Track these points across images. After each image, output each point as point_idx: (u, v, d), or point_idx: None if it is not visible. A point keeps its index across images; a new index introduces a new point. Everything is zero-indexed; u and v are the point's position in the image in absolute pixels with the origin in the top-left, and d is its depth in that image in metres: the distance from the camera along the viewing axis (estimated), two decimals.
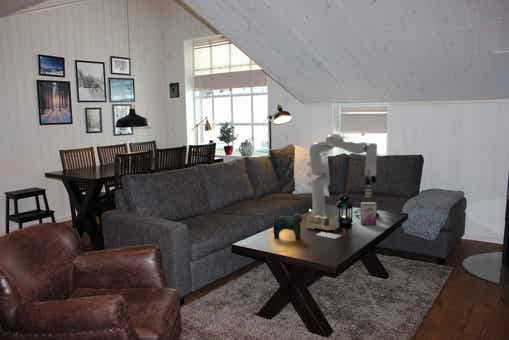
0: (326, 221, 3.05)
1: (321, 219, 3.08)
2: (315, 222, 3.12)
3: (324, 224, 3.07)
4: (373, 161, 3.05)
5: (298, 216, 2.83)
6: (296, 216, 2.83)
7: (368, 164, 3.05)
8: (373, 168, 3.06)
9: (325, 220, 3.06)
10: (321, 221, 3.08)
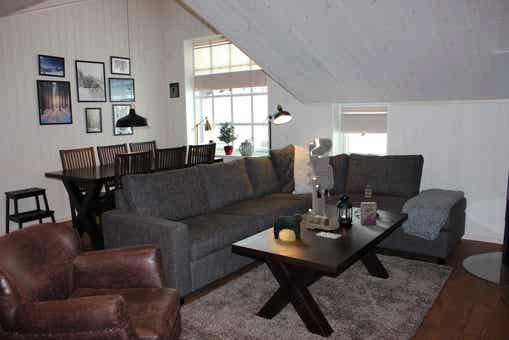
0: (326, 221, 3.05)
1: (321, 219, 3.08)
2: (315, 222, 3.12)
3: (324, 224, 3.07)
4: (324, 174, 3.01)
5: (298, 216, 2.83)
6: (296, 216, 2.83)
7: (319, 177, 3.02)
8: (324, 181, 3.03)
9: (325, 220, 3.06)
10: (321, 221, 3.08)
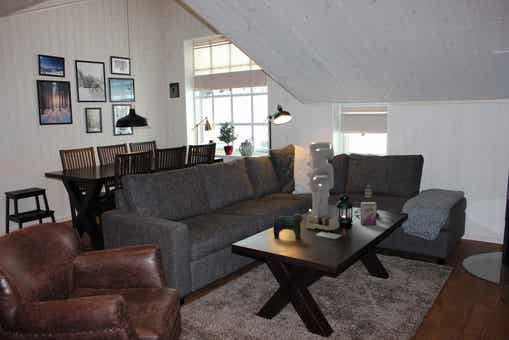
0: (326, 221, 3.05)
1: None
2: (315, 222, 3.12)
3: (324, 224, 3.07)
4: (324, 202, 3.04)
5: (298, 216, 2.83)
6: (296, 216, 2.83)
7: (319, 205, 3.05)
8: (324, 209, 3.06)
9: (325, 220, 3.06)
10: None
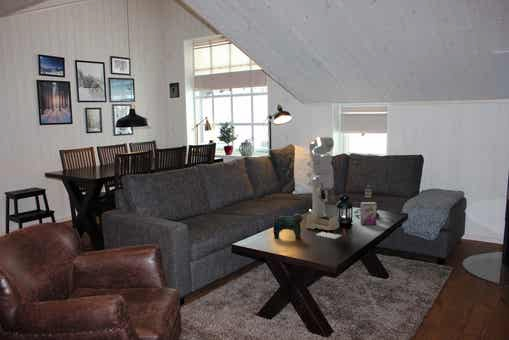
0: (329, 193, 2.93)
1: None
2: (317, 195, 2.99)
3: (327, 196, 2.94)
4: (327, 173, 2.92)
5: (298, 216, 2.83)
6: (296, 216, 2.83)
7: (321, 176, 2.93)
8: (327, 181, 2.94)
9: (328, 192, 2.93)
10: None
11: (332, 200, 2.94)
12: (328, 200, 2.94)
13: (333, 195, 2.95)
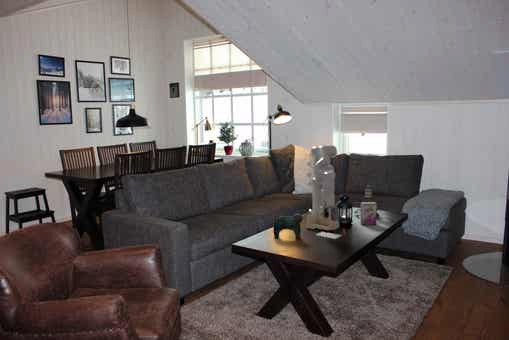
0: (332, 211, 2.84)
1: None
2: (320, 213, 2.91)
3: (330, 215, 2.86)
4: (330, 191, 2.84)
5: (298, 216, 2.83)
6: (296, 216, 2.83)
7: (325, 194, 2.84)
8: (330, 199, 2.85)
9: (331, 210, 2.85)
10: None
11: (336, 219, 2.86)
12: (331, 218, 2.86)
13: (337, 213, 2.86)
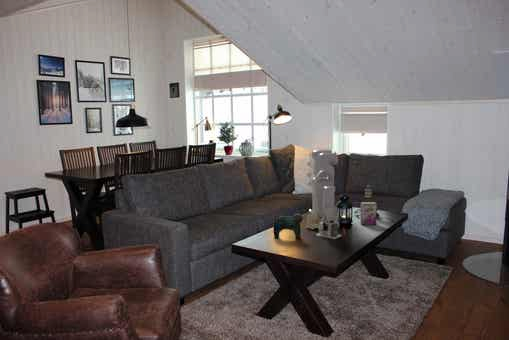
0: (332, 228, 2.86)
1: None
2: (320, 229, 2.93)
3: (330, 231, 2.88)
4: (330, 206, 2.85)
5: (298, 216, 2.83)
6: (296, 216, 2.83)
7: (325, 209, 2.86)
8: (330, 213, 2.87)
9: (331, 227, 2.87)
10: None
11: (336, 235, 2.88)
12: (331, 235, 2.88)
13: (336, 230, 2.88)
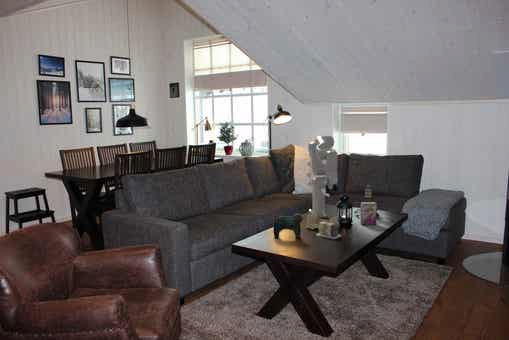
0: (332, 228, 2.86)
1: (327, 226, 2.89)
2: (320, 229, 2.93)
3: (330, 231, 2.88)
4: (333, 169, 2.95)
5: (298, 216, 2.83)
6: (296, 216, 2.83)
7: (328, 172, 2.96)
8: (333, 177, 2.97)
9: (331, 227, 2.87)
10: (327, 228, 2.89)
11: (336, 235, 2.88)
12: (331, 235, 2.88)
13: (336, 230, 2.88)
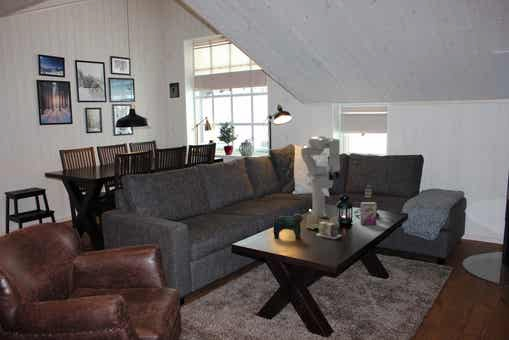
0: (332, 228, 2.86)
1: (327, 226, 2.89)
2: (320, 229, 2.93)
3: (330, 231, 2.88)
4: (335, 157, 3.08)
5: (298, 216, 2.83)
6: (296, 216, 2.83)
7: (331, 160, 3.09)
8: (336, 164, 3.10)
9: (331, 227, 2.87)
10: (327, 228, 2.89)
11: (336, 235, 2.88)
12: (331, 235, 2.88)
13: (336, 230, 2.88)
